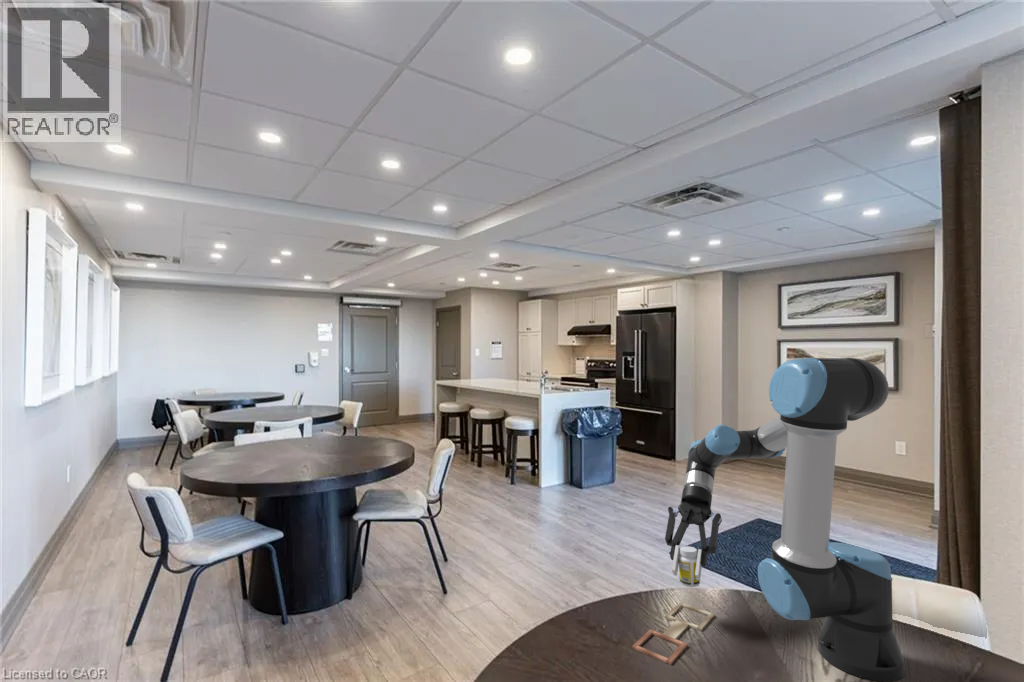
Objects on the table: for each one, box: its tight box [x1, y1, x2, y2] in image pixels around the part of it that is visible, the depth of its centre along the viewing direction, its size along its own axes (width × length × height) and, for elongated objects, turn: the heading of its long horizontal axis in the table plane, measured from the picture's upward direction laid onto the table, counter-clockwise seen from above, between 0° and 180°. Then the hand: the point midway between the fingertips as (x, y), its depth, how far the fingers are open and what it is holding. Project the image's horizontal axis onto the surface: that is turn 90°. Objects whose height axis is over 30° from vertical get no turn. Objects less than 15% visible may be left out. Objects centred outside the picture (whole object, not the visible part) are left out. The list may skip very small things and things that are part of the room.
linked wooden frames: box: [631, 602, 716, 666], centre depth 116 cm, size 9×26×1 cm, turn 138°
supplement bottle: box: [678, 545, 701, 588], centre depth 123 cm, size 5×5×8 cm
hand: (685, 575), depth 120 cm, fingers closed on supplement bottle, 5 cm apart
